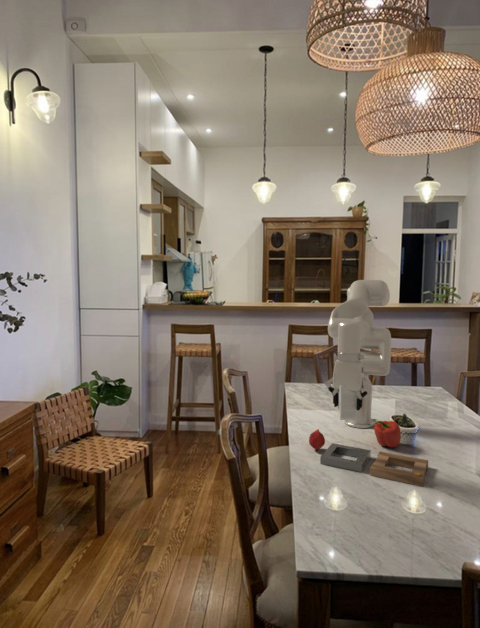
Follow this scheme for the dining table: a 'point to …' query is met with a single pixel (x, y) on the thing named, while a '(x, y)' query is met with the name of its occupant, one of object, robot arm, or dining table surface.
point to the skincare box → (347, 404)
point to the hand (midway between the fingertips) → (347, 407)
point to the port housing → (397, 474)
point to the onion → (316, 440)
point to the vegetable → (387, 433)
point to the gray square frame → (344, 463)
